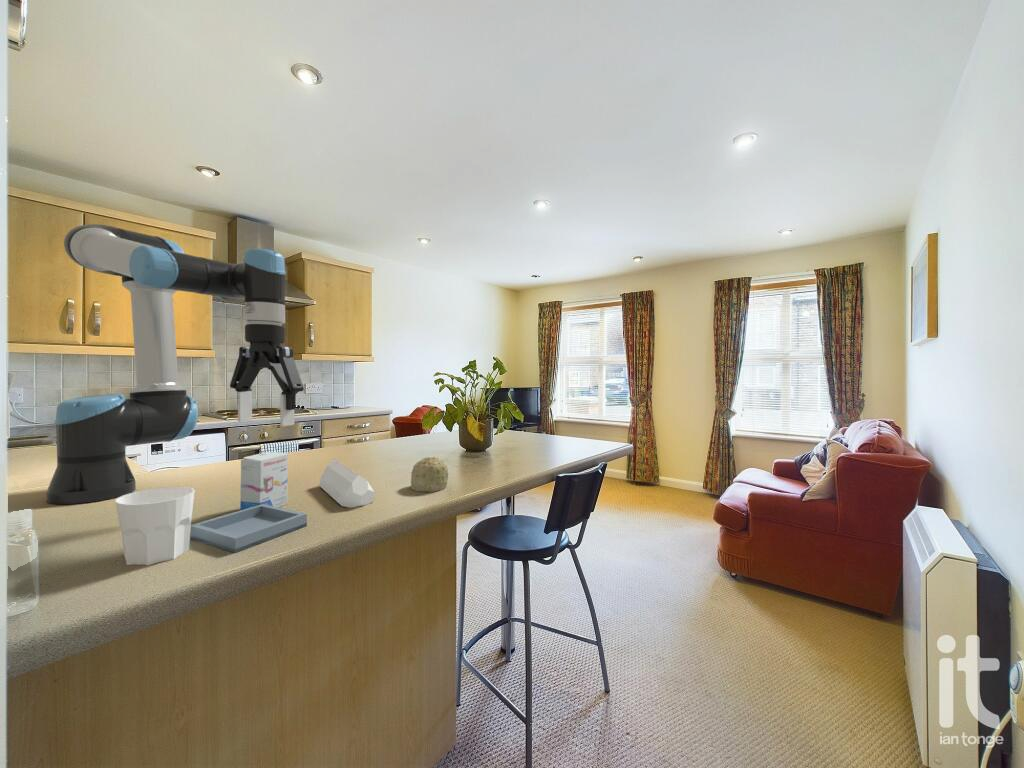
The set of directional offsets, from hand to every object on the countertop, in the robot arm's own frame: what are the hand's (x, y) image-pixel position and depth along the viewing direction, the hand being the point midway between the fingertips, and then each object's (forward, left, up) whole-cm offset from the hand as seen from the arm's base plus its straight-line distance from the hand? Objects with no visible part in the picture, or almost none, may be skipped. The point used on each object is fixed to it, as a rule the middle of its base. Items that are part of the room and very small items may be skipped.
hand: (265, 423), depth 95 cm
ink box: (0, 0, -19) cm, 19 cm away
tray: (+10, -10, -19) cm, 23 cm away
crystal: (+7, +16, -19) cm, 26 cm away
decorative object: (+21, +31, -19) cm, 42 cm away
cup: (+6, -23, -19) cm, 31 cm away
